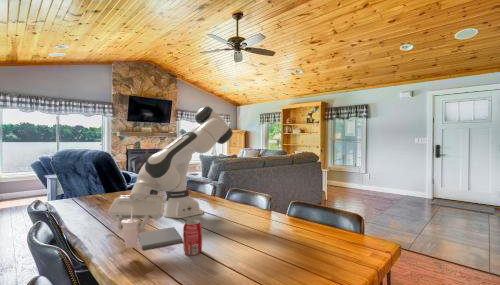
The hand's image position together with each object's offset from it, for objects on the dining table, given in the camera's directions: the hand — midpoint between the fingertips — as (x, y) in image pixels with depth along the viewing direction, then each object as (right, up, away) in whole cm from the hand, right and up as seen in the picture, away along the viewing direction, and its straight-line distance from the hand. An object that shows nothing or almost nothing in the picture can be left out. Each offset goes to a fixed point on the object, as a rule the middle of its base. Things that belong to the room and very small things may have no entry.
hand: (130, 228), depth 94 cm
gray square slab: (+4, -11, +19) cm, 22 cm away
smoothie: (0, -7, +1) cm, 7 cm away
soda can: (+22, -11, +6) cm, 25 cm away
